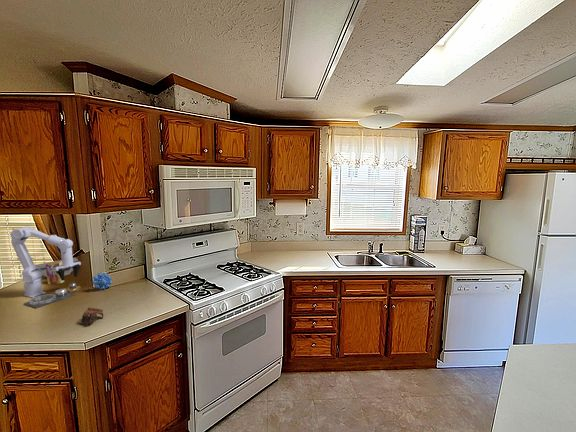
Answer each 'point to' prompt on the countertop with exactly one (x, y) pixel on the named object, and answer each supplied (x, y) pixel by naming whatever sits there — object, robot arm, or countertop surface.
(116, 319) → the countertop surface
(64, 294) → the gear carrier
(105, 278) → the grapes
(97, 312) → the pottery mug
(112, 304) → the countertop surface
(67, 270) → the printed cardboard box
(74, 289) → the planet gear
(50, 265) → the candy box
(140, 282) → the countertop surface
